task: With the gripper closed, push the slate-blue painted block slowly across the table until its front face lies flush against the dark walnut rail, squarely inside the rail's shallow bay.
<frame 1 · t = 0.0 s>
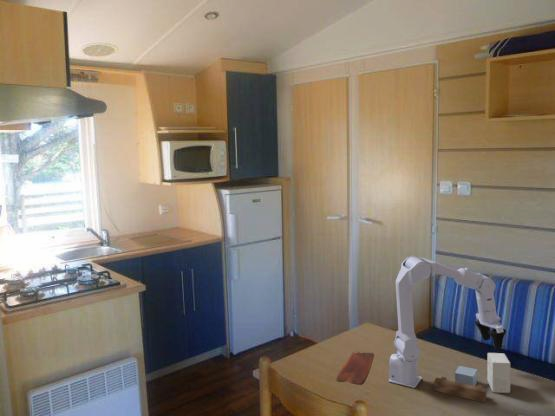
hand: (492, 344, 175), 11 cm above the table, tool pointing down, fingers open, 7 cm apart
wooden tablet: (357, 368, 186), on the table
block: (466, 383, 170), on the table
small box: (498, 387, 166), on the table
rail: (459, 394, 162), on the table
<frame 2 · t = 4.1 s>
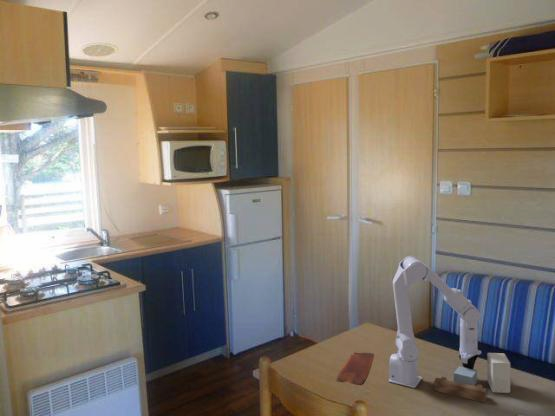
hand: (468, 374, 172), 1 cm above the table, tool pointing down, fingers closed
block: (465, 384, 169), on the table, touching gripper
everything else where it was.
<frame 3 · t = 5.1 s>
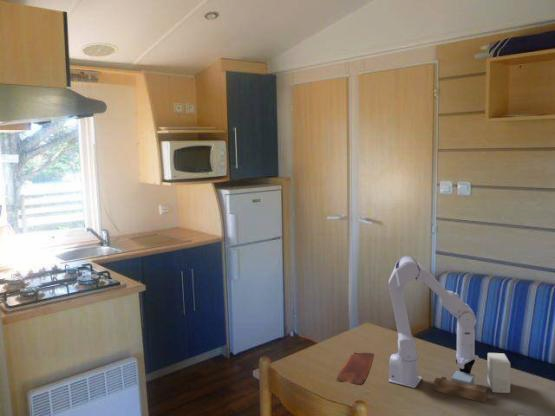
hand: (465, 379, 169), 1 cm above the table, tool pointing down, fingers closed
block: (462, 388, 166), on the table, touching gripper, rail
everything else where it was.
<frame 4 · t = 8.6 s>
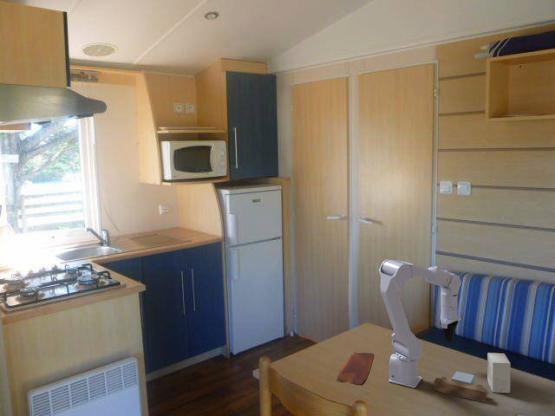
hand: (449, 340, 180), 10 cm above the table, tool pointing down, fingers closed
block: (463, 389, 166), on the table
everything else where it was.
at the end: block 0.2 cm from the target spot on the table beside the rail, on the table; block tilted 0° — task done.
